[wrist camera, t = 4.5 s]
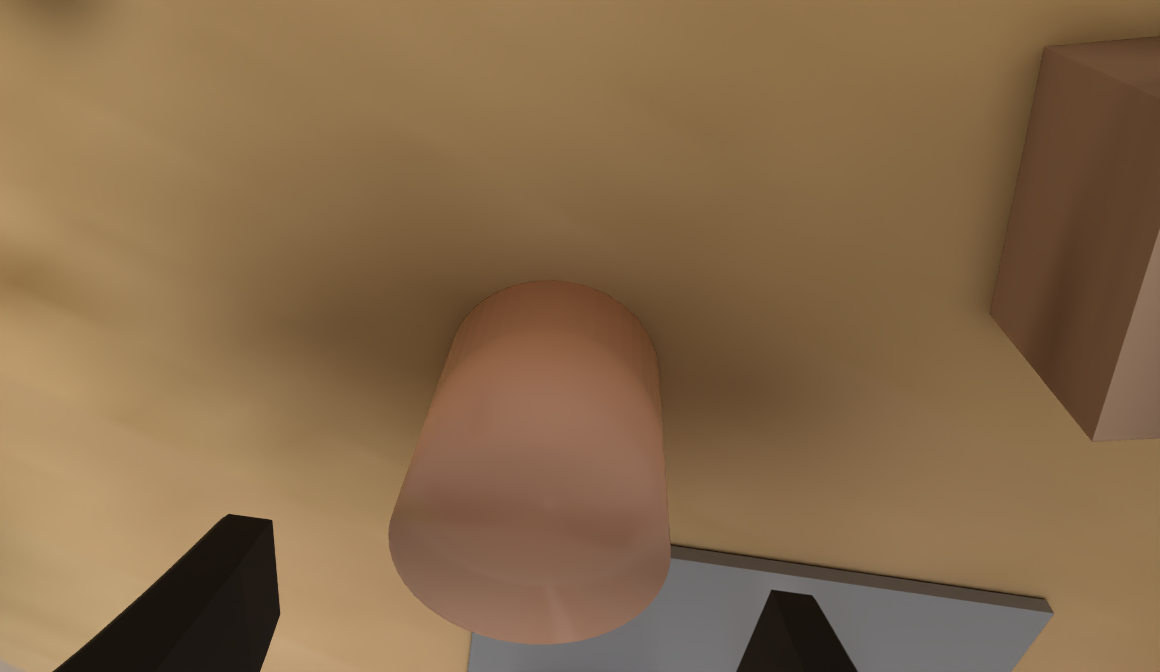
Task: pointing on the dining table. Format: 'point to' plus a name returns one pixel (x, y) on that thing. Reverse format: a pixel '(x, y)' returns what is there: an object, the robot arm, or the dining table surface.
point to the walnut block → (1090, 237)
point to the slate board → (742, 585)
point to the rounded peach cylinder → (539, 472)
